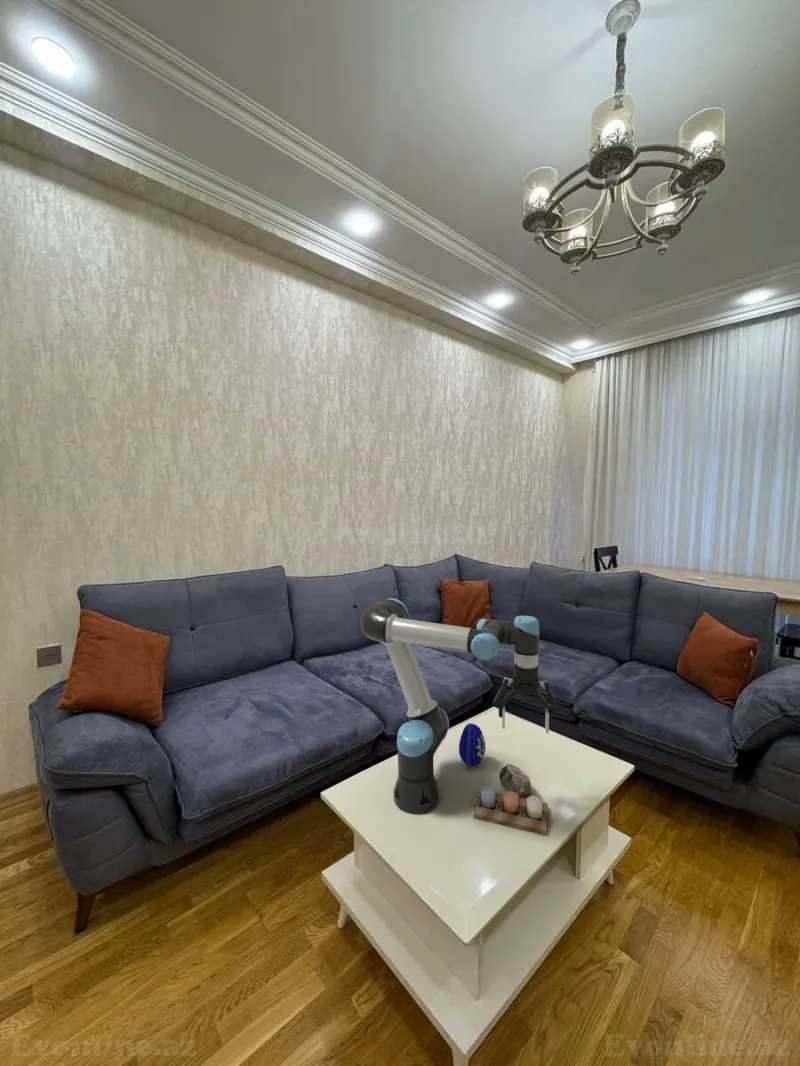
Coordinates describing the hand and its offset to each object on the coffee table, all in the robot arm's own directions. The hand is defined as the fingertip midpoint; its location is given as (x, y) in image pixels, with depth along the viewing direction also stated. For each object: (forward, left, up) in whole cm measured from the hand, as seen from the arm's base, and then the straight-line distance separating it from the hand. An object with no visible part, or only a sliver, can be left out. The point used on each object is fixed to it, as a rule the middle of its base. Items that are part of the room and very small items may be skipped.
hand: (524, 728), depth 139 cm
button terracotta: (-4, -9, -21) cm, 23 cm away
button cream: (+3, -9, -21) cm, 23 cm away
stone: (-4, +2, -23) cm, 24 cm away
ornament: (-20, +12, -23) cm, 33 cm away
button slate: (-11, -9, -21) cm, 25 cm away
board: (-4, -9, -23) cm, 25 cm away
